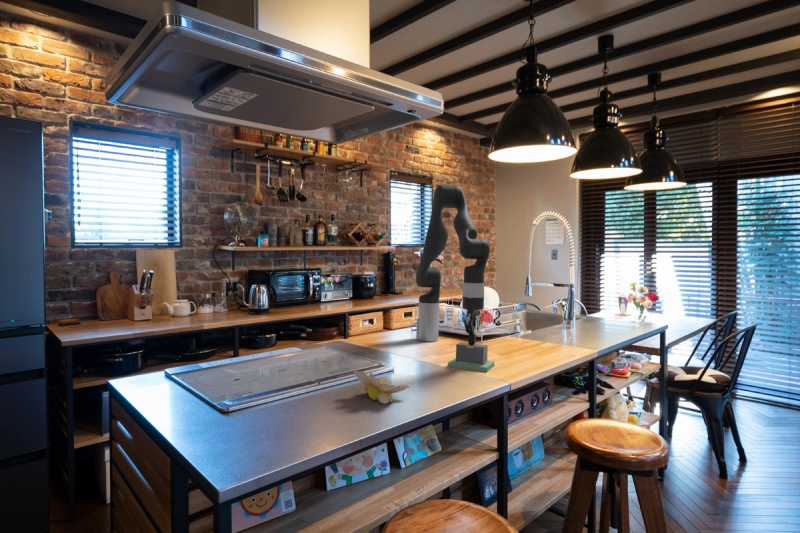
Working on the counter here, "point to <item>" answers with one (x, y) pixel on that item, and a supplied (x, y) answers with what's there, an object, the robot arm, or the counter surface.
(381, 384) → the decorative flower
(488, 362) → the pin board
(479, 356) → the plug housing
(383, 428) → the counter surface
